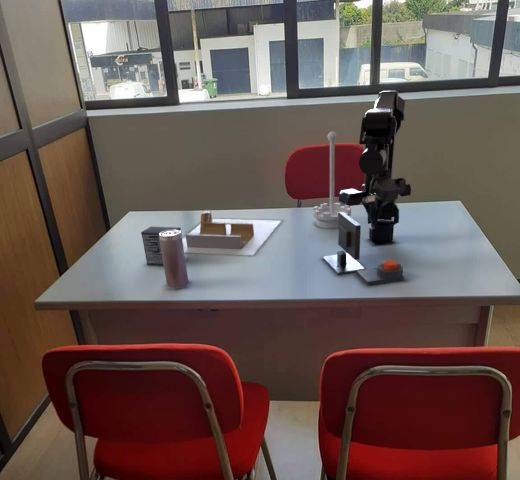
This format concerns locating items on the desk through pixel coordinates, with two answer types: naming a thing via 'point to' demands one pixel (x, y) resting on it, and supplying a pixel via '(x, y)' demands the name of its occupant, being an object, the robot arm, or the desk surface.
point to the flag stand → (330, 214)
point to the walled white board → (228, 235)
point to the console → (380, 275)
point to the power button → (390, 265)
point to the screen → (349, 235)
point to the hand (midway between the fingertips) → (373, 224)
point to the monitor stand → (343, 263)
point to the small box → (154, 244)
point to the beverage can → (173, 258)
